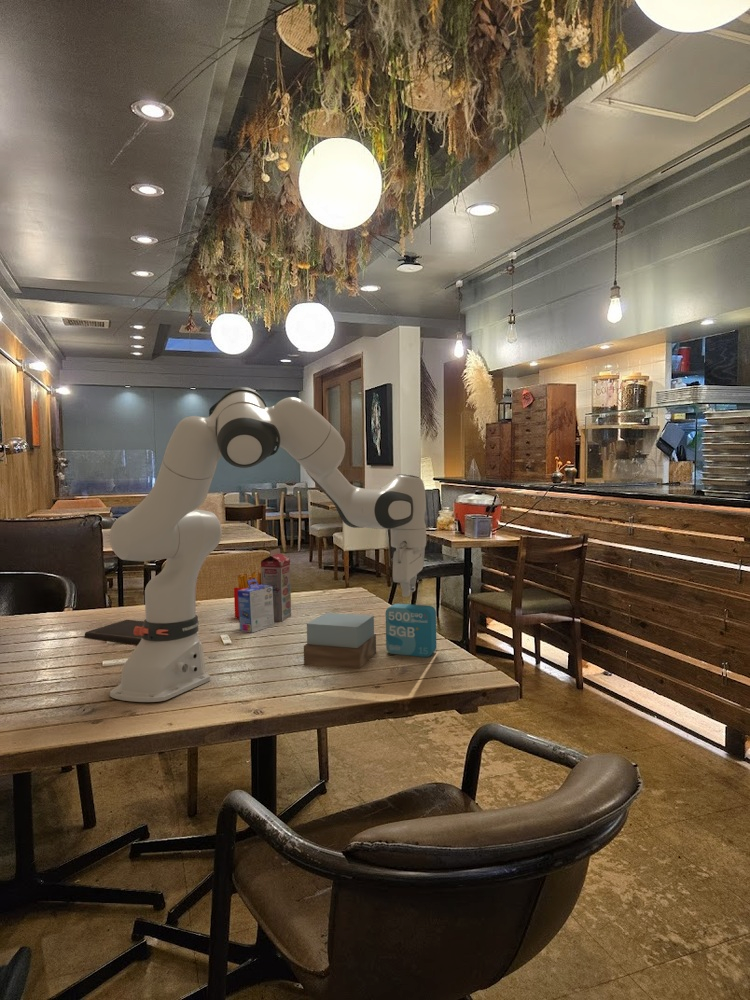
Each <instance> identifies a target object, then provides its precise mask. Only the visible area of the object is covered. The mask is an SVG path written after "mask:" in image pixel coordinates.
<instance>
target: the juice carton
mask: <svg viewBox="0 0 750 1000" xmlns="http://www.w3.org/2000/svg"><path fill="white" fill-rule="evenodd" d="M290 559H291V558H289V557H288V556H286V555H285V554H283V553H281V548H280V547H279V548H274V549H271V550H269V556H268V557H266V558H264V559H262V560H261V561H260V573H261V584H262V585H268V586H272V590H273V612H274V622H284V621H285V620H287V619H289V618H290V617H292V596H291V594H292V592H291V591H292V590H291V589H292V587H291V560H290Z"/></svg>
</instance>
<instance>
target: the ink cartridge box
mask: <svg viewBox="0 0 750 1000" xmlns="http://www.w3.org/2000/svg"><path fill="white" fill-rule="evenodd" d="M251 579H252V578H251ZM247 582H248V587H249V588H246V589H242V590H238V605H239V619H238V620H239V623H238V624H239V631H240V632H243V633H249V634H251V633H256V632H259V631H261V630H264V629H268V628H271V627H274V626H275V621H274V612H273V590H272V586H268V585H258V582H257V578H256V579H252V580H249V579H247ZM251 582H256V584H252V585H251V584H250V583H251Z"/></svg>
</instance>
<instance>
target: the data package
mask: <svg viewBox="0 0 750 1000" xmlns="http://www.w3.org/2000/svg"><path fill="white" fill-rule="evenodd" d="M385 648H386V651H387V653H389V654H391V655H399V656H410V657H420V658H429V657H431V655H432V654H434V652H435V651H437V610H436V608H435V606H432V605H424V604H410V603H394V604H392V605H390V606H389V607H387V609H386V610H385Z"/></svg>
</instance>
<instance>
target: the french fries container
mask: <svg viewBox="0 0 750 1000" xmlns="http://www.w3.org/2000/svg"><path fill="white" fill-rule="evenodd" d="M252 579H256V581H257V582H258V585H262V584H261V572H257V574H256V571H253V572H251V575H250V576H248V574H247V573H243V574H238V575H237V581H238V587H233V595H234V596H233V597H234V599H233V600H234V617H235V618H236V619H237V620H239V605H238V590H242V589H246V588H249V585H248V582H247V580H252ZM250 584H251V585H252V584H256V582H251V583H250Z"/></svg>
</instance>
